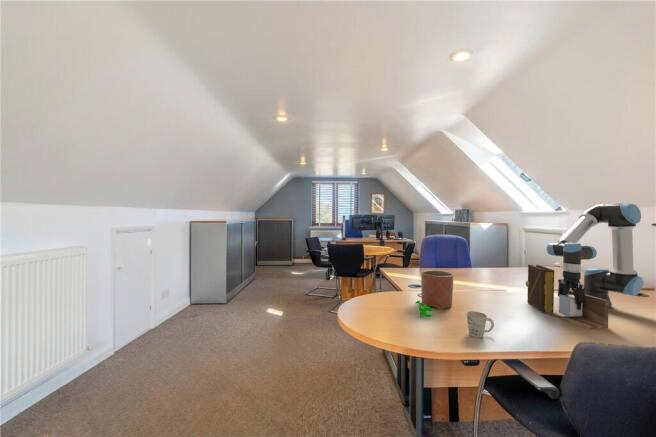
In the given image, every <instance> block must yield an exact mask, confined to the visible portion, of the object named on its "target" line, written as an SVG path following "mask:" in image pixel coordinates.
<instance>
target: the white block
mask: <svg viewBox="0 0 656 437" xmlns="http://www.w3.org/2000/svg"><path fill="white" fill-rule="evenodd" d="M574 303H576V301H575V297H574V295H559V297H558V313H560V314H563V315H566V316H568V317H578V316H582V309H583V303H582V304H581V310H580V315H577V316H575V315H574Z"/></svg>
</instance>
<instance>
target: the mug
mask: <svg viewBox="0 0 656 437" xmlns="http://www.w3.org/2000/svg"><path fill="white" fill-rule="evenodd" d="M466 318H467V320H466V321H467V326H468V327H467V328H468V334H469V336H471V337H473V338H476V339H480V338H481V339H482V338H484V337H485V333H490V332H491V331H493V329H494V327H495V323H494V320H493V319H492V318H491V317H488V315H487V314H485V313H483V312H480V311H473V310H472V311H466ZM487 321H489V322H490V328H488V329H487V330H485V329H486V323H487Z"/></svg>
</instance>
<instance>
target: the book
mask: <svg viewBox="0 0 656 437" xmlns="http://www.w3.org/2000/svg"><path fill="white" fill-rule="evenodd" d="M525 286H526V287H527V298H526V299H527V300H526V302H527V305H528V304H529V305H530V306H531V307H532V308H535V309H536V310H538V311H539V312H542V313H544V314H552V313H554V308H555V307H554V305H555V304H554V302H555V300H554V297H555V269H552V268H549V267H546V266H543V265H541V264H540V265H539V264H536V265H533V264H528V265H527V280H526V281H525Z"/></svg>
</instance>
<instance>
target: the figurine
mask: <svg viewBox="0 0 656 437" xmlns="http://www.w3.org/2000/svg"><path fill="white" fill-rule="evenodd" d="M420 300H421V299H420ZM420 300H417V301H415V304H418V312H419V315H420V318H425V317H433V316H434V314H436V312H435V311H434V310H433V309H432V307H431V306H428V305H426V304H423V306H422V302H421V301H420ZM427 312H430V313H429V314H428V313H427ZM431 313H433V314H431Z"/></svg>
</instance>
